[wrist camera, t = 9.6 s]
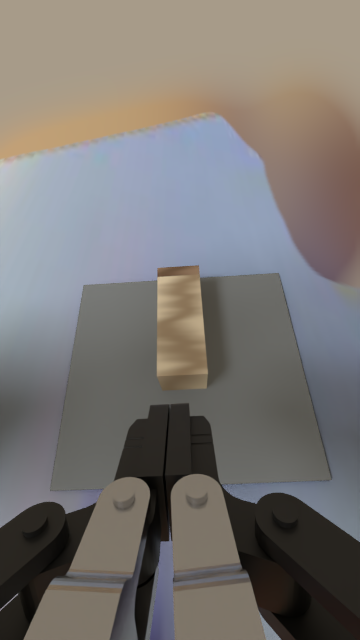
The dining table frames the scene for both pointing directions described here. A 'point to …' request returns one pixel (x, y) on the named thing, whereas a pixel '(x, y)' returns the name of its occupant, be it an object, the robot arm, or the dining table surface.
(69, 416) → the rubber mat
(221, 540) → the robot arm
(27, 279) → the dining table surface
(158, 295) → the maple block
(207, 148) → the dining table surface
